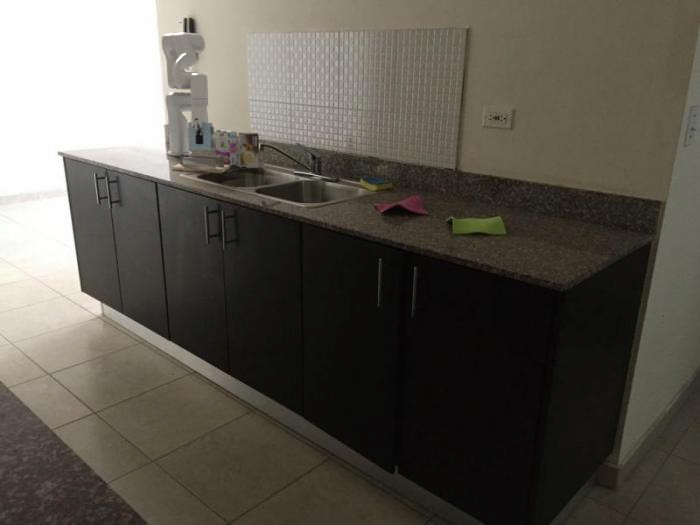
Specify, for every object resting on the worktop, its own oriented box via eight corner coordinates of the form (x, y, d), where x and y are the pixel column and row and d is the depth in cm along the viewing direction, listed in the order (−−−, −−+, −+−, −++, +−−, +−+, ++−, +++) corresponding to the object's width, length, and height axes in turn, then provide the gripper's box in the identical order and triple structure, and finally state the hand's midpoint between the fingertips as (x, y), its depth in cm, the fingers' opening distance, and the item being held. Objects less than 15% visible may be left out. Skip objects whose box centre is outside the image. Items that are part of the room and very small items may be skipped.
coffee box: (257, 165, 290) (257, 132, 285) (259, 168, 285) (259, 134, 279) (238, 165, 288) (238, 132, 283) (240, 168, 282) (239, 134, 277)
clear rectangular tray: (184, 164, 284) (183, 151, 281) (230, 167, 282) (230, 154, 280) (172, 170, 269) (171, 155, 267) (221, 173, 268) (220, 158, 265)
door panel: (192, 148, 275) (191, 121, 271) (215, 149, 274) (215, 123, 270) (189, 149, 271) (188, 122, 267) (213, 150, 270) (212, 124, 266)
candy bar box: (237, 165, 288) (237, 131, 283) (229, 166, 285) (228, 132, 279) (224, 162, 295) (223, 129, 290) (215, 163, 292) (214, 129, 287)
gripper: (197, 101, 274) (199, 140, 280) (184, 103, 258) (186, 145, 264) (213, 101, 273) (214, 141, 279) (201, 103, 258) (203, 146, 263)
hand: (201, 143), depth 272 cm, fingers closed on door panel, 4 cm apart
